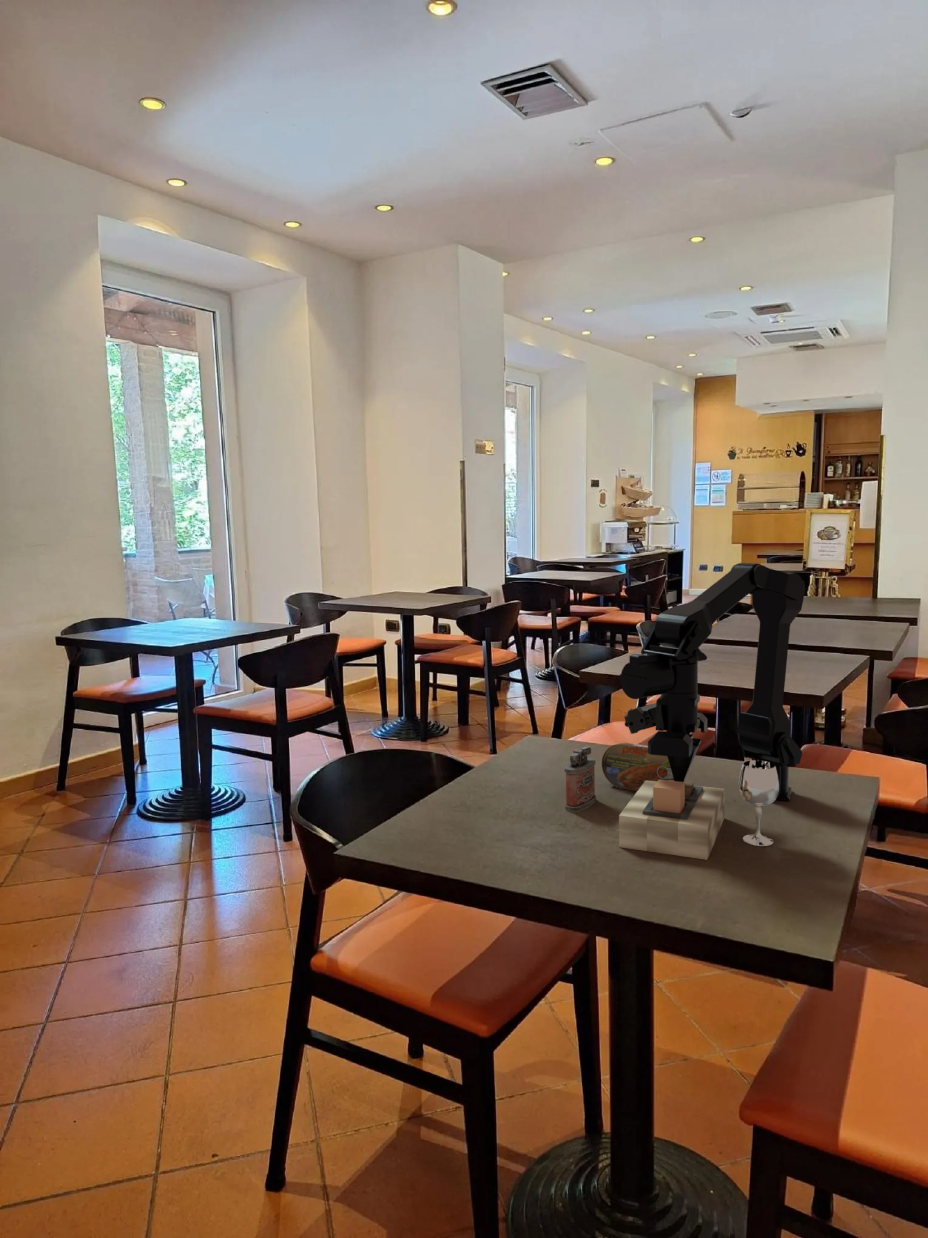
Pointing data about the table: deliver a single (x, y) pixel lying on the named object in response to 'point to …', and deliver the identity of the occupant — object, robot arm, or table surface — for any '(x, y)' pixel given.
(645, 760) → the tin
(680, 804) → the peg
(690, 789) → the peg
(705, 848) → the board
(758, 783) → the wineglass
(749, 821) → the table surface
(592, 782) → the lighter
